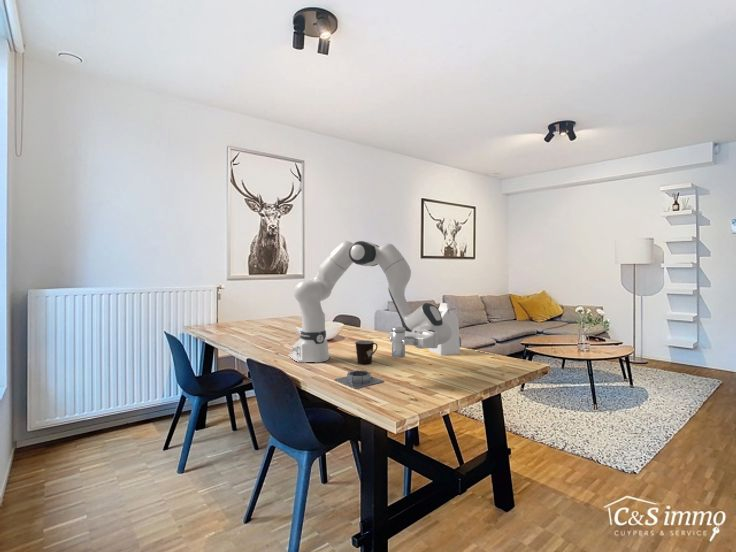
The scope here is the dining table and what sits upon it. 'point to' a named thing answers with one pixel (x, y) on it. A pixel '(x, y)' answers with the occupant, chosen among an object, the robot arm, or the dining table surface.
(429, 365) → the dining table surface
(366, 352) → the coffee mug
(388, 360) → the dining table surface
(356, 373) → the duct collar
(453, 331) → the milk
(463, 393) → the dining table surface
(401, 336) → the grey metal cylinder
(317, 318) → the robot arm
